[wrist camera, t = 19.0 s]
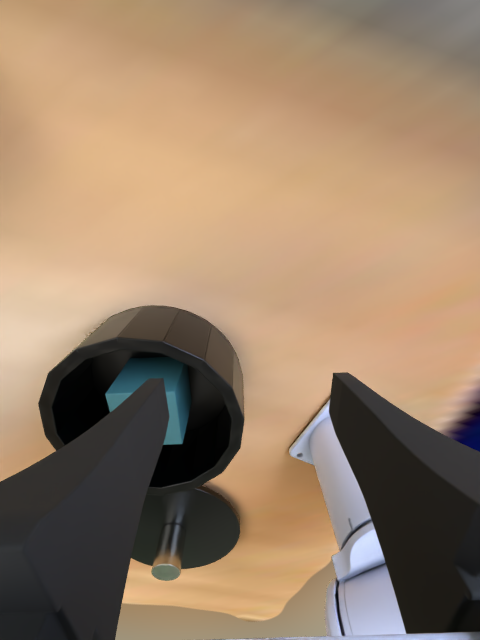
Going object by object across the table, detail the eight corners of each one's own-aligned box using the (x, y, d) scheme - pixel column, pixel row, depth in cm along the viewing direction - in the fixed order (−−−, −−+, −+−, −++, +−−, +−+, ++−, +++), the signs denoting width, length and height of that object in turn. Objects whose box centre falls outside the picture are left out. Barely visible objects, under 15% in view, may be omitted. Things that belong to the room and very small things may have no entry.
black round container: (270, 350, 22) (280, 394, 17) (200, 455, 26) (192, 514, 21) (114, 274, 19) (71, 300, 14) (65, 404, 24) (20, 458, 19)
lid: (261, 498, 28) (266, 550, 24) (210, 568, 33) (206, 622, 29) (131, 458, 26) (111, 507, 22) (96, 540, 31) (74, 594, 27)
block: (186, 356, 21) (175, 391, 17) (192, 402, 23) (182, 444, 19) (129, 357, 21) (104, 394, 17) (139, 403, 23) (118, 446, 19)
